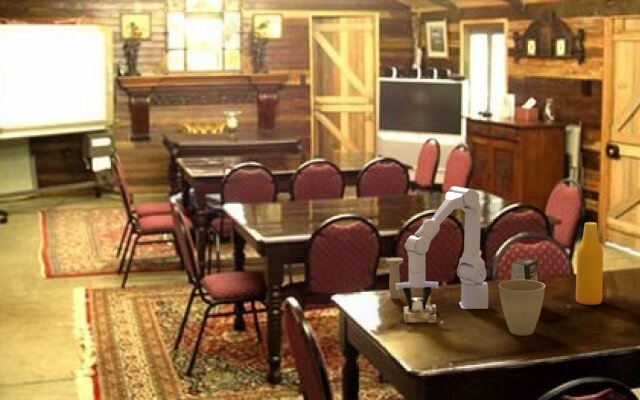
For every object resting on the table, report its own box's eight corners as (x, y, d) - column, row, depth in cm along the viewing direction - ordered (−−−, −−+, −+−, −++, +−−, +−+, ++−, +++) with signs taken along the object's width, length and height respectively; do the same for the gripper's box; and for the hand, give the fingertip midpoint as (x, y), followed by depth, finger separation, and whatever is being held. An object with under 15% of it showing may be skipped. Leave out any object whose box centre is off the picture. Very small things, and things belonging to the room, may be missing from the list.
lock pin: (429, 305, 337) (429, 292, 336) (432, 313, 326) (432, 301, 325) (425, 305, 337) (425, 292, 336) (428, 313, 326) (428, 301, 325)
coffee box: (526, 309, 332) (527, 264, 329) (510, 306, 336) (510, 262, 333) (537, 303, 339) (538, 259, 336) (521, 300, 343) (521, 257, 340)
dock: (435, 310, 332) (435, 302, 332) (438, 322, 318) (438, 314, 318) (402, 311, 332) (402, 303, 332) (405, 322, 319) (405, 314, 318)
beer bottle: (574, 303, 337) (576, 225, 332) (577, 297, 345) (579, 220, 341) (600, 306, 333) (603, 226, 329) (603, 299, 342) (605, 221, 337)
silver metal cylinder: (426, 314, 325) (426, 297, 324) (423, 318, 320) (423, 301, 319) (411, 313, 326) (411, 296, 325) (408, 317, 321) (408, 300, 320)
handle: (404, 299, 348) (404, 260, 345) (388, 300, 346) (388, 261, 344) (401, 296, 352) (400, 257, 350) (384, 297, 351) (384, 258, 349)
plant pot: (527, 323, 315) (528, 277, 313) (553, 335, 301) (554, 287, 299) (489, 328, 310) (489, 282, 308) (513, 341, 296) (514, 293, 294)
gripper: (436, 267, 325) (436, 304, 327) (394, 268, 324) (394, 306, 327) (439, 272, 318) (439, 310, 320) (397, 273, 317) (397, 312, 320)
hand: (417, 308), depth 323 cm, fingers closed on silver metal cylinder, 4 cm apart
